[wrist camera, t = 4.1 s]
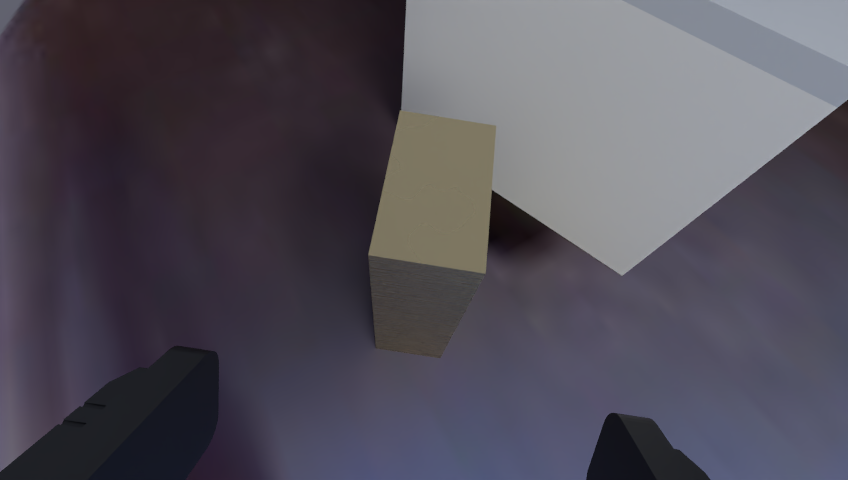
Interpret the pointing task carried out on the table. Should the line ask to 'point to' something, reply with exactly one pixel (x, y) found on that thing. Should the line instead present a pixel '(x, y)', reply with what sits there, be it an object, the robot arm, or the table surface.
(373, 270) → the tan rectangular block
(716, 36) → the box
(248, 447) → the table surface
